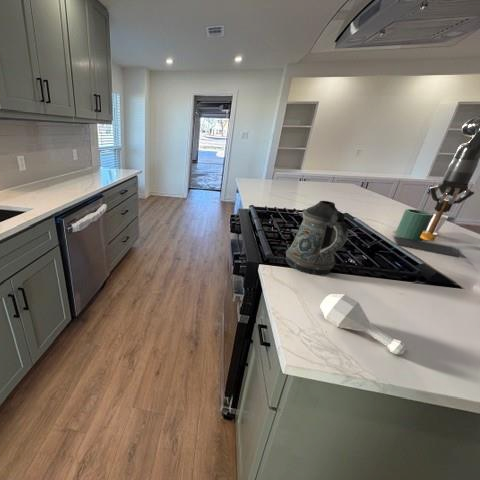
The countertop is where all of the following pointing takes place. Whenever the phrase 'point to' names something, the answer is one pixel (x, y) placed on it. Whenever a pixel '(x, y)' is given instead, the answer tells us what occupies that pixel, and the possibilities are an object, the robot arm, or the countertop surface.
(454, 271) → the countertop surface
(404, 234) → the jar
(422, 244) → the drying mat
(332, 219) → the beer stein
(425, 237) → the brush
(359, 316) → the chicken leg
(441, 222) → the smoothie
